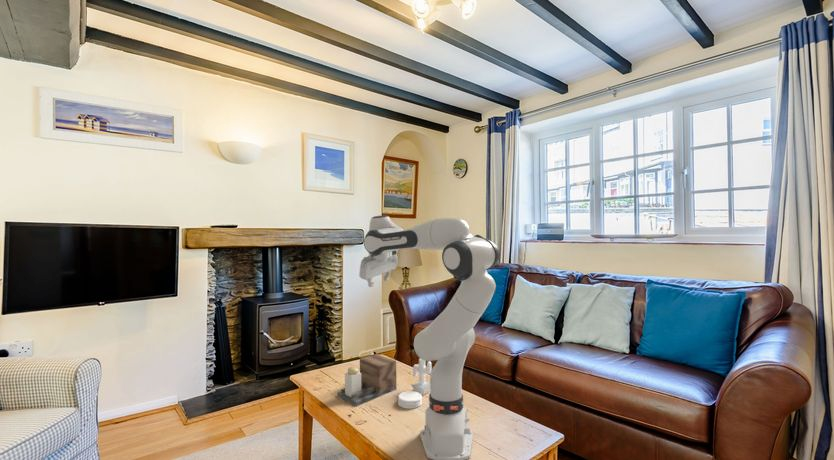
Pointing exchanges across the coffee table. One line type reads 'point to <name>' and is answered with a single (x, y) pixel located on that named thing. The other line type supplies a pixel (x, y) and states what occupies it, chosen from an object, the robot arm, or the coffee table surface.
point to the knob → (352, 381)
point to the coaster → (410, 399)
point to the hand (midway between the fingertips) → (378, 283)
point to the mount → (373, 379)
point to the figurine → (421, 377)
